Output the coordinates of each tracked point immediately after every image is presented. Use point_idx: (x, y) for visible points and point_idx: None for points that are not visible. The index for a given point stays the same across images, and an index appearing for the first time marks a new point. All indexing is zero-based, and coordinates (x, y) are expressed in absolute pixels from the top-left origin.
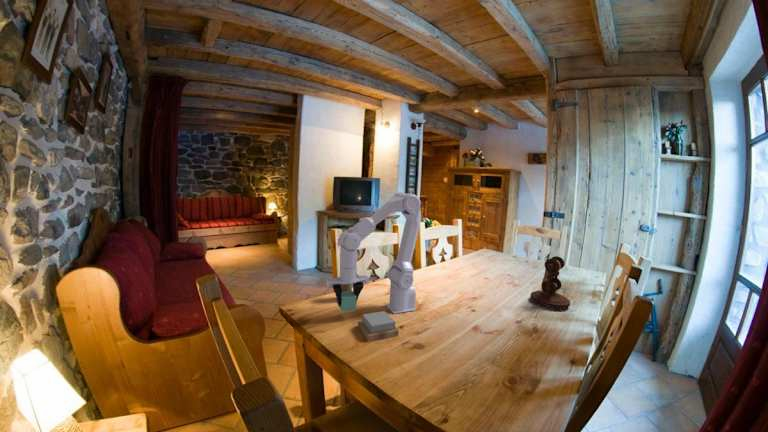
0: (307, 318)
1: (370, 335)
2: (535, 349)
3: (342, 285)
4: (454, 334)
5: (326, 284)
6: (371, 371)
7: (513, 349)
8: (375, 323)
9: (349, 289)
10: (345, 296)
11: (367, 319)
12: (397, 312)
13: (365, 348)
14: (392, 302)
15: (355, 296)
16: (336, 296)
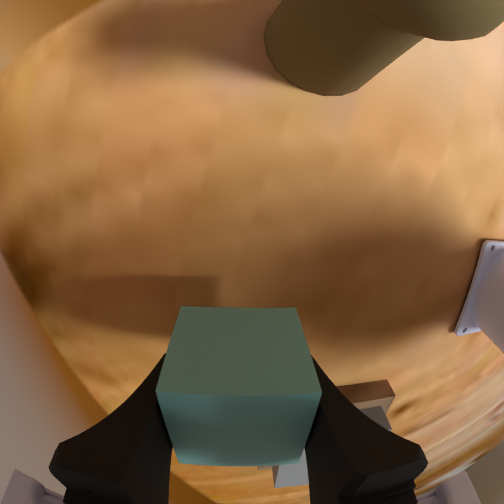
0: (37, 254)
1: (263, 469)
2: (482, 445)
3: (324, 8)
4: (457, 429)
5: (14, 475)
6: (219, 495)
7: (467, 450)
8: (294, 481)
9: (383, 61)
10: (208, 457)
11: (281, 469)
12: (466, 333)
13: (234, 466)
14: (491, 325)
15: (289, 462)
16: (139, 393)
